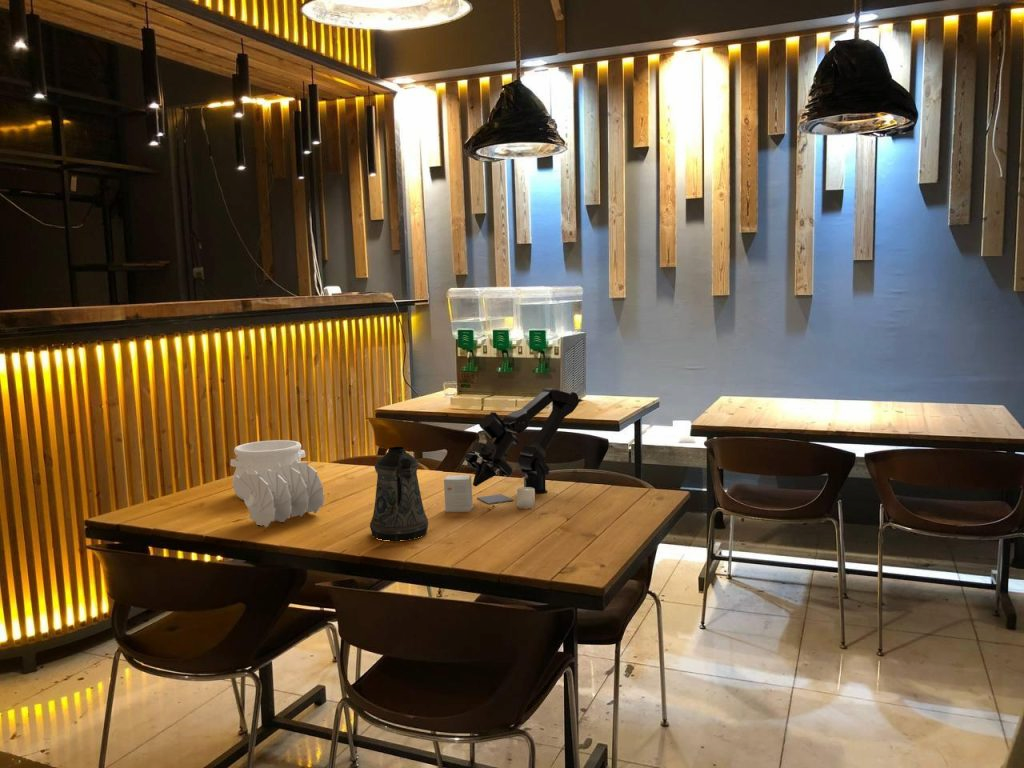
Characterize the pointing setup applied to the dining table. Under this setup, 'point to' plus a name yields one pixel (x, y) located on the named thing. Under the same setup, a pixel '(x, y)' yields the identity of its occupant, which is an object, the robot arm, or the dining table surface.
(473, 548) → the dining table surface
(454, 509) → the small box
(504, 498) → the slate coaster
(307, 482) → the spiral staircase
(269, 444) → the pot
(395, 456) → the beer stein
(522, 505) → the espresso cup
